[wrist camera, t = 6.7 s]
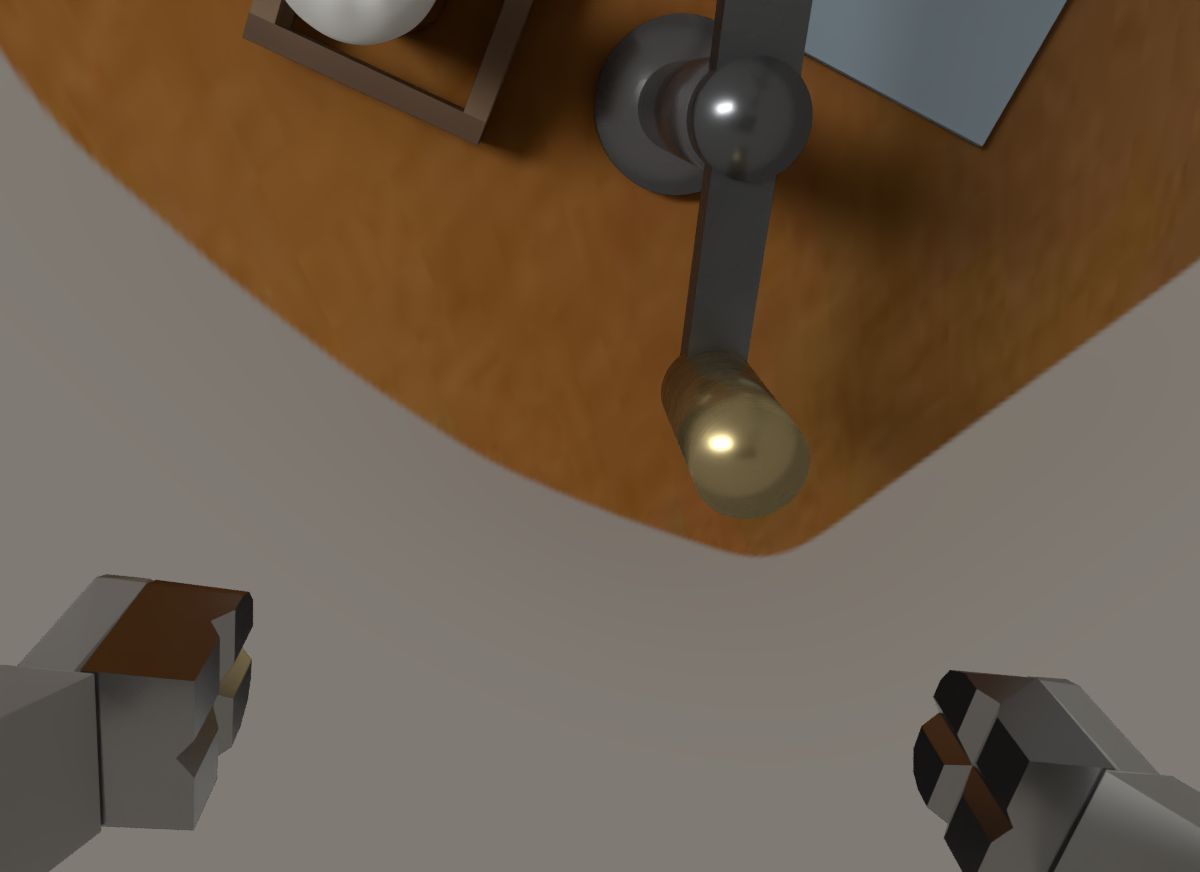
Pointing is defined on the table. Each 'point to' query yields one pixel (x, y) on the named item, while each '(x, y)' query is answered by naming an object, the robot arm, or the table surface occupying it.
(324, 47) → the brown square frame
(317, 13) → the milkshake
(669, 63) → the latch post
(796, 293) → the table surface
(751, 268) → the lever
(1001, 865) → the robot arm
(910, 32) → the pad
